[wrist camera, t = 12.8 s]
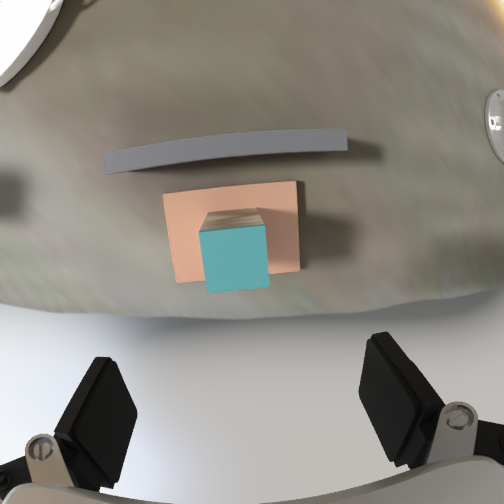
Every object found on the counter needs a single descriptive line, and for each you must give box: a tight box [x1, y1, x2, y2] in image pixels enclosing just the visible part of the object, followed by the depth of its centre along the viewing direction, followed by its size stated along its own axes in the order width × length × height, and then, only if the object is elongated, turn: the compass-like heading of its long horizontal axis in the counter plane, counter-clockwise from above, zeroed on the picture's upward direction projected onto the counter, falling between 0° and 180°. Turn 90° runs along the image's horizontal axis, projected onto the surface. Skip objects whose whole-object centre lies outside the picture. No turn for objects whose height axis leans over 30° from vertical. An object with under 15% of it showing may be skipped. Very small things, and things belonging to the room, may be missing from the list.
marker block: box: [199, 207, 270, 293], centre depth 27 cm, size 5×5×9 cm
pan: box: [0, 0, 63, 87], centre depth 19 cm, size 24×27×4 cm
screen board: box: [104, 129, 348, 175], centre depth 27 cm, size 22×2×6 cm, turn 95°
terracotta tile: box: [163, 180, 300, 283], centre depth 32 cm, size 14×10×1 cm
